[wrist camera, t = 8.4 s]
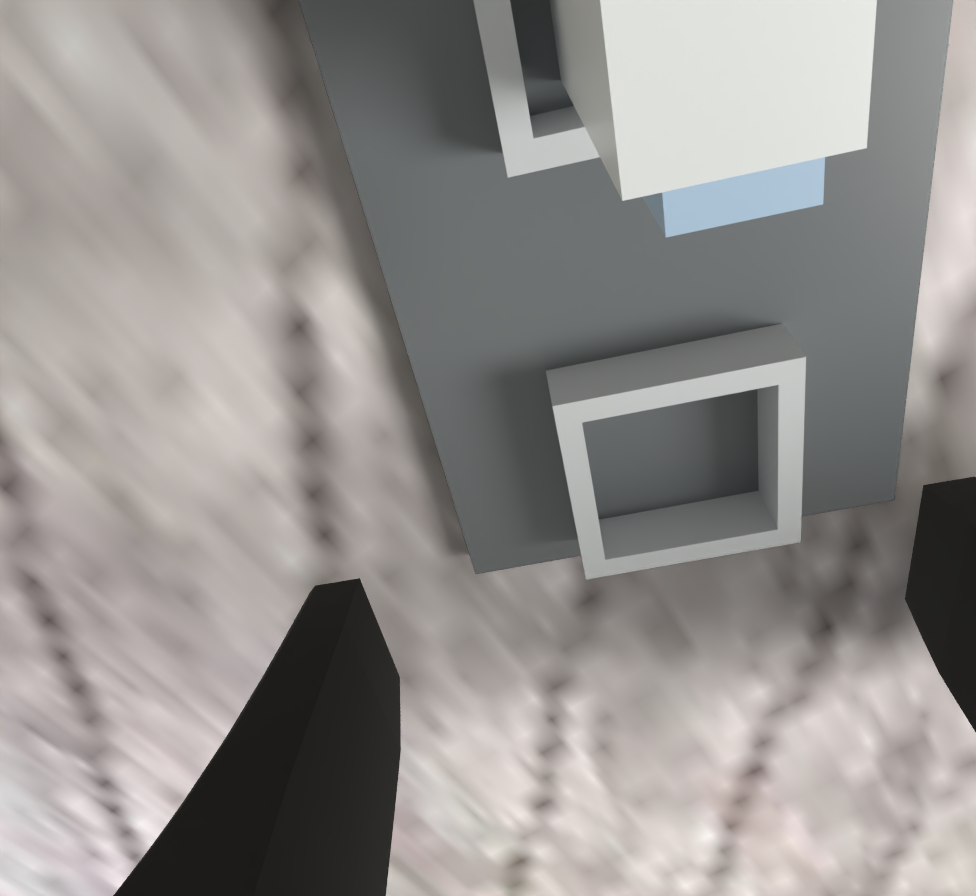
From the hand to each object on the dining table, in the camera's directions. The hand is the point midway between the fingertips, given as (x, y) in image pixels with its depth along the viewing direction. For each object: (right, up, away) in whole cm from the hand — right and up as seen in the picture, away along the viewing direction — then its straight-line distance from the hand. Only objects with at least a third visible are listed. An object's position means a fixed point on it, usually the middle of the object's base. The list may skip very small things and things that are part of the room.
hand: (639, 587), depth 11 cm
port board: (+2, +7, +8) cm, 11 cm away
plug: (+1, +10, +4) cm, 11 cm away
